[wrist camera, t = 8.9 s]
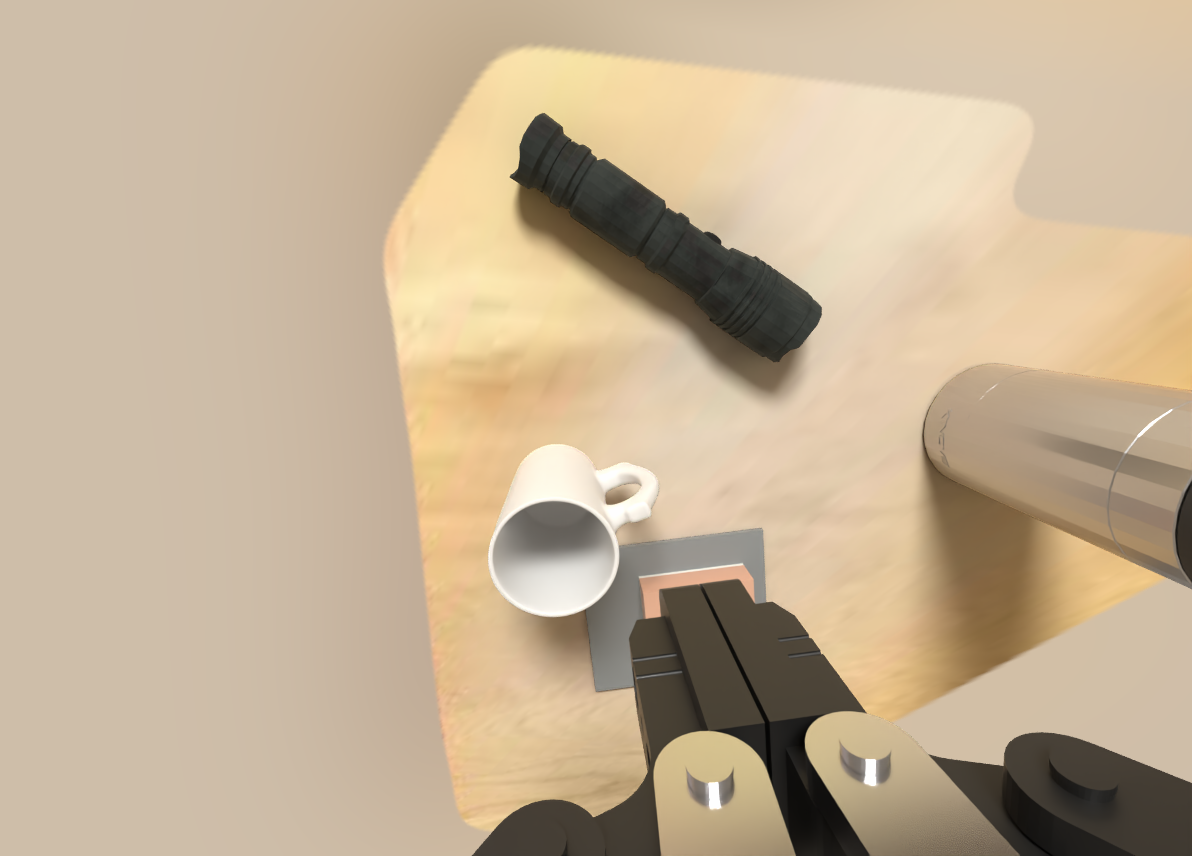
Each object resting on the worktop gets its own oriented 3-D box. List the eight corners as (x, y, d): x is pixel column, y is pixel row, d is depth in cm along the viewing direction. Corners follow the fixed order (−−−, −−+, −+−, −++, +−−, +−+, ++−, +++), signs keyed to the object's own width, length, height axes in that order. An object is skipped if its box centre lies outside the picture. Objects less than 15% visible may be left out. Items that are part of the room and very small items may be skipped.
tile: (638, 576, 42) (742, 563, 42) (646, 657, 43) (746, 643, 43) (643, 593, 39) (753, 579, 39) (651, 678, 41) (757, 664, 41)
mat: (761, 527, 42) (763, 530, 41) (767, 665, 44) (769, 668, 44) (578, 551, 41) (578, 553, 41) (595, 688, 44) (595, 691, 44)
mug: (533, 541, 41) (520, 636, 29) (494, 461, 39) (465, 528, 28) (658, 489, 41) (696, 565, 29) (624, 407, 39) (649, 452, 27)
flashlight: (760, 360, 39) (788, 368, 34) (509, 190, 36) (500, 172, 31) (802, 300, 38) (836, 300, 33) (548, 120, 35) (546, 90, 30)
